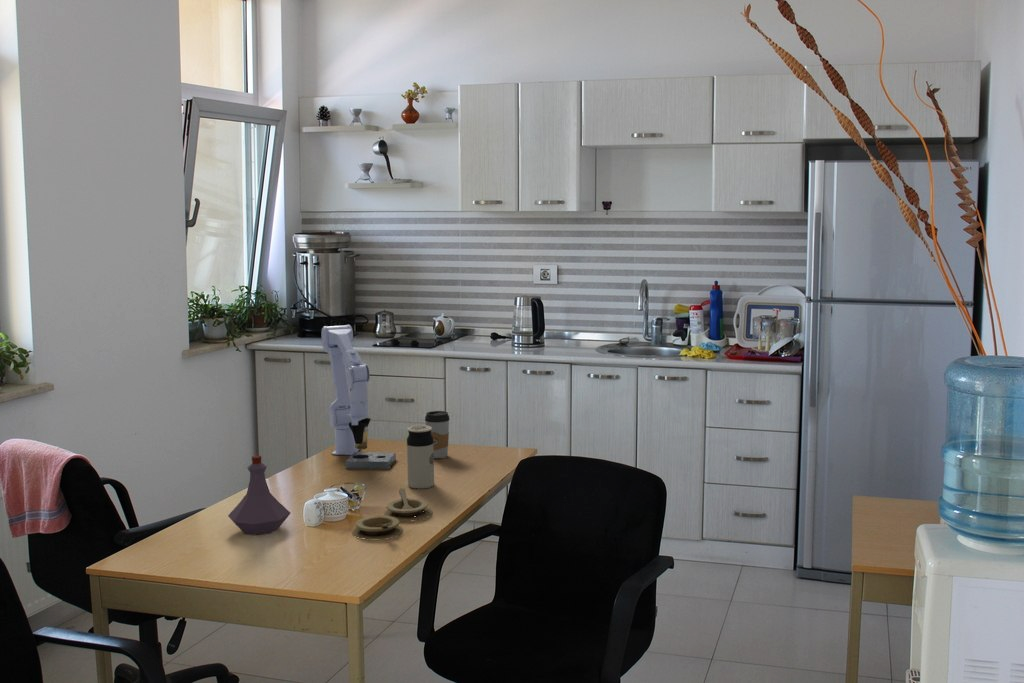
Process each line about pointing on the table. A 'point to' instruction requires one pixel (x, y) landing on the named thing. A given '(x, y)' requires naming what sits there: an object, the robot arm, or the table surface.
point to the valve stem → (365, 440)
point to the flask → (258, 505)
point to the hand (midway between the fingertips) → (360, 442)
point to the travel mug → (420, 457)
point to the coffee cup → (439, 431)
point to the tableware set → (392, 518)
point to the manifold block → (370, 460)
